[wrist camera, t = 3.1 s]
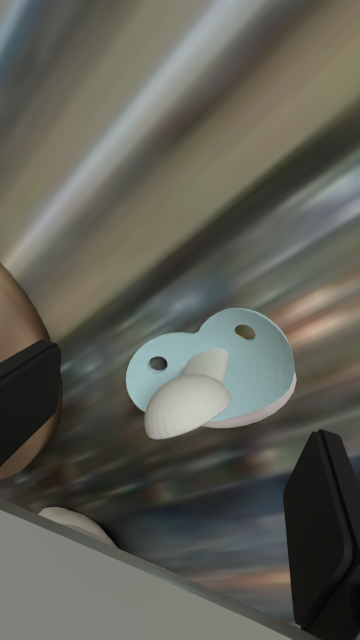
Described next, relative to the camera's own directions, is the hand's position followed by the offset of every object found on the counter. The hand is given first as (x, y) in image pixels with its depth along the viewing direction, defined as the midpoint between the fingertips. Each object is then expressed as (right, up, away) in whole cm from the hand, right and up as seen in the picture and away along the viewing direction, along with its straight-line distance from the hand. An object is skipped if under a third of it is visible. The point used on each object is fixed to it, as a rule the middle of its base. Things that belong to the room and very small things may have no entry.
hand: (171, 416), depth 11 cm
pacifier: (+2, +1, +4) cm, 5 cm away
